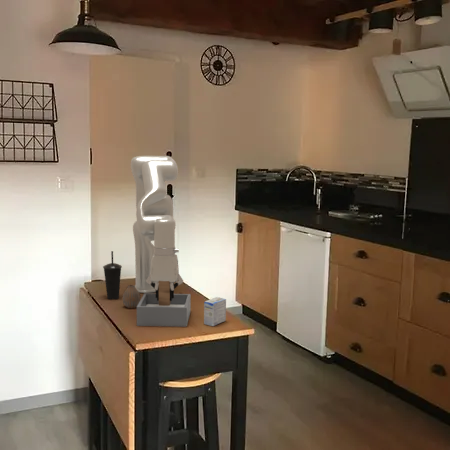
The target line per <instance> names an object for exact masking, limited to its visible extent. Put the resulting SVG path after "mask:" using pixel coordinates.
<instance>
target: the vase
mask: <svg viewBox="0 0 450 450" xmlns="http://www.w3.org/2000/svg"><path fill="white" fill-rule="evenodd" d="M134 285H135V284H129V285H128V286H127V287H126V289H125V290H124V291H123V294H122V303H123V305H124V306H125V308H127V309H134V308H137V305H138V304H139V302H140V300H141V295H140V293H139V292H138V290H137V289H136V288H135V286H134Z"/></svg>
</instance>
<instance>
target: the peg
mask: <svg viewBox="0 0 450 450" xmlns="http://www.w3.org/2000/svg"><path fill="white" fill-rule="evenodd" d="M170 288H171V287H170V282H169V281H159V305H160V306H170V303H171V301H170Z"/></svg>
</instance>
